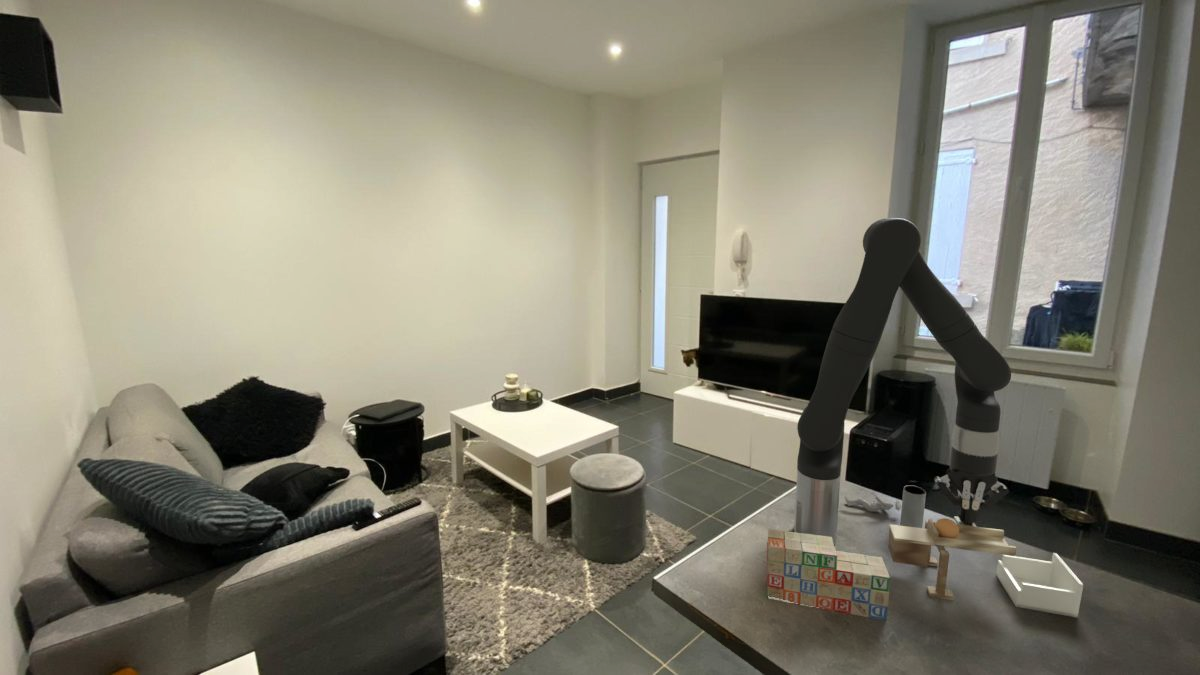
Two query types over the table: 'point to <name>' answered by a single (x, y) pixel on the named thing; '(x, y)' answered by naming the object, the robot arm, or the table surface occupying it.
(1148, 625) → the table surface
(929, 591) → the lever stand
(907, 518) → the planter
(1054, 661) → the table surface
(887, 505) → the soldier figure
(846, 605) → the stack of blocks
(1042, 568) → the white open box
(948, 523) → the ball
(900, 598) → the table surface
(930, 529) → the lever
